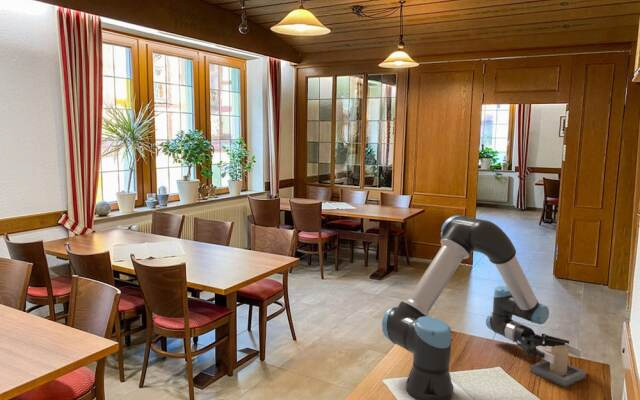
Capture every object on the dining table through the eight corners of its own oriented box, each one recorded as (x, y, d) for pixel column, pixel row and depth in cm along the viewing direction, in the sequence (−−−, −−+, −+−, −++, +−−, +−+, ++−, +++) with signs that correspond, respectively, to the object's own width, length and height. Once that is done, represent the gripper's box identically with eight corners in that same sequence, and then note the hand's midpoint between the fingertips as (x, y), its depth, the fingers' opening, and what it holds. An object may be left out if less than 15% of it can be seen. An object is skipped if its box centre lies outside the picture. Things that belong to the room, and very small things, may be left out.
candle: (557, 368, 176) (559, 342, 175) (570, 375, 171) (572, 348, 170) (545, 370, 174) (548, 343, 173) (558, 377, 169) (560, 350, 168)
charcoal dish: (565, 387, 164) (565, 380, 164) (530, 371, 175) (530, 365, 174) (585, 378, 171) (585, 371, 171) (550, 363, 182) (550, 357, 182)
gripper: (542, 338, 194) (590, 361, 174) (494, 347, 184) (540, 372, 164) (544, 320, 193) (592, 341, 174) (496, 328, 183) (542, 351, 163)
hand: (567, 356), depth 169 cm, fingers open, 13 cm apart
